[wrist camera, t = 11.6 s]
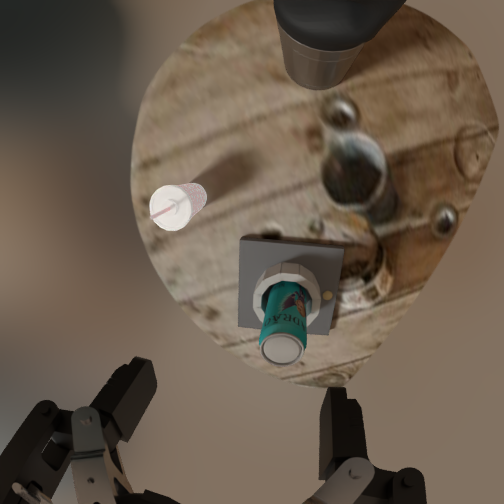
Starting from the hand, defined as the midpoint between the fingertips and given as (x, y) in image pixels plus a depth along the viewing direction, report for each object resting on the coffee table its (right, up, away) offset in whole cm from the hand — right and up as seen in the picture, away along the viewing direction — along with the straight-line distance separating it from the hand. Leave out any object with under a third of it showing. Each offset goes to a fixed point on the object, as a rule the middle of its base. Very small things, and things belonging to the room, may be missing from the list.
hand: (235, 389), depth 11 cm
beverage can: (+7, 0, +34) cm, 35 cm away
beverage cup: (-8, +15, +33) cm, 37 cm away
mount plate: (+7, 0, +35) cm, 36 cm away
